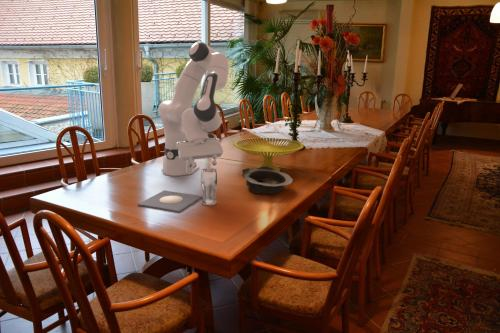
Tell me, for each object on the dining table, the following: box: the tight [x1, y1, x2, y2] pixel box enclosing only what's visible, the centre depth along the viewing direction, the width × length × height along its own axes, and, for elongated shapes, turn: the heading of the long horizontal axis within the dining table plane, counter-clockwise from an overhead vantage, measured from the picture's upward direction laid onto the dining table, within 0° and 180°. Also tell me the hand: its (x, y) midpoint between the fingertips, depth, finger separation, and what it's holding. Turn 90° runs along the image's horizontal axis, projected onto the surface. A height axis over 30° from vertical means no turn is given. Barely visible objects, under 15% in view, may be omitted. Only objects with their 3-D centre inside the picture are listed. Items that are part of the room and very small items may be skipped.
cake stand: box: [233, 137, 305, 172], centre depth 226 cm, size 40×40×15 cm
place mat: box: [137, 190, 203, 214], centre depth 173 cm, size 20×20×1 cm
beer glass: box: [200, 167, 218, 206], centre depth 171 cm, size 7×7×15 cm
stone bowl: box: [241, 165, 294, 195], centre depth 191 cm, size 25×25×9 cm
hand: (205, 165), depth 176 cm, fingers open, 8 cm apart
